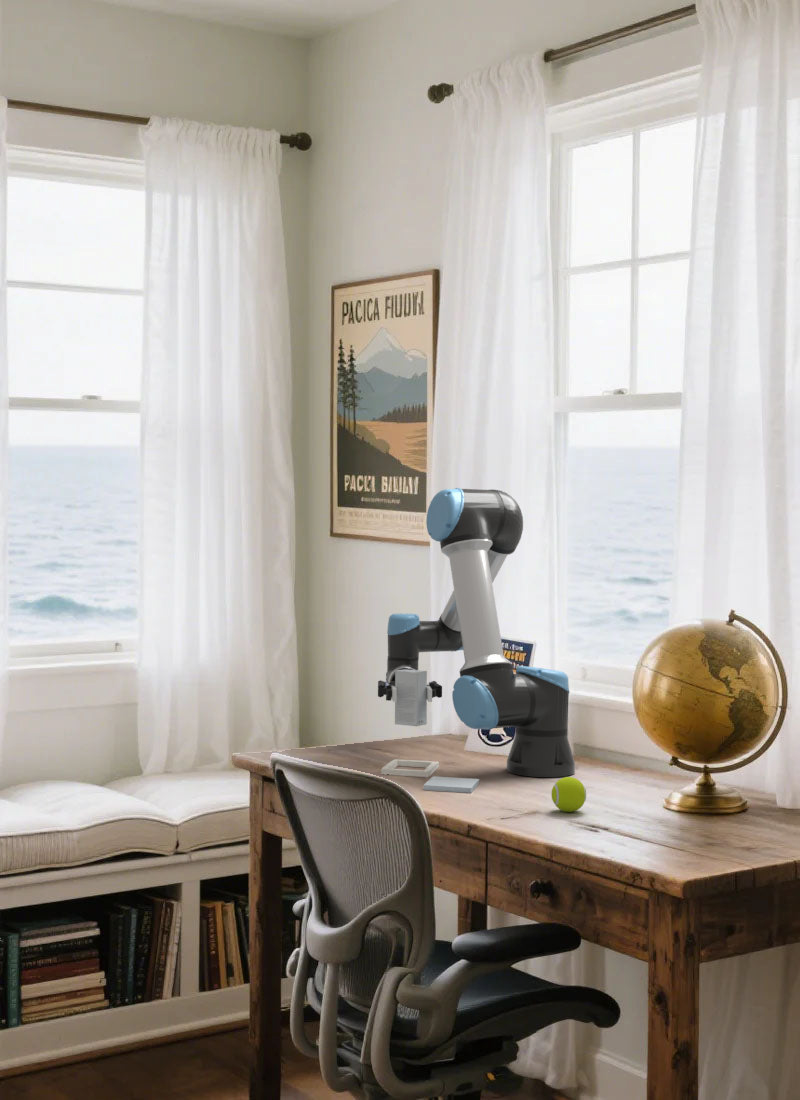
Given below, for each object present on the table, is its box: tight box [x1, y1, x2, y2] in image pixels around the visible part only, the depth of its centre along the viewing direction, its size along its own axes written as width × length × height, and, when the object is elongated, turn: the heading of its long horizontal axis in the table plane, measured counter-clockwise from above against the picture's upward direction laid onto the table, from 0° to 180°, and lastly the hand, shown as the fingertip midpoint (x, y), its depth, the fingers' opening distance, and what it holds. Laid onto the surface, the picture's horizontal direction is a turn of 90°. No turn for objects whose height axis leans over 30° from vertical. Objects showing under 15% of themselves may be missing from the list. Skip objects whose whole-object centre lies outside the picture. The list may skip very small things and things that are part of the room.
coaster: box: [423, 775, 480, 794], centre depth 293 cm, size 10×10×1 cm
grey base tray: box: [380, 758, 440, 778], centre depth 310 cm, size 10×12×1 cm
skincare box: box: [394, 669, 428, 727], centre depth 310 cm, size 6×4×12 cm
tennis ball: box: [551, 776, 587, 813], centre depth 271 cm, size 7×7×7 cm
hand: (412, 695), depth 305 cm, fingers closed on skincare box, 7 cm apart
